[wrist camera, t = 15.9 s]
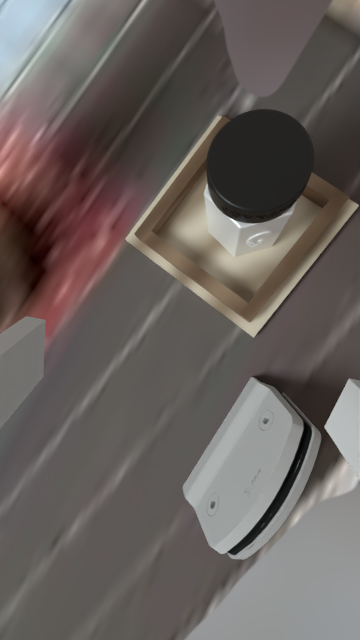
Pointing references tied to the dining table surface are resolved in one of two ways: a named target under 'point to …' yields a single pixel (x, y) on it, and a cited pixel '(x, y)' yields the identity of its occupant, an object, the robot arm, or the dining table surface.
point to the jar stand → (216, 262)
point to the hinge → (252, 470)
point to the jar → (255, 178)
